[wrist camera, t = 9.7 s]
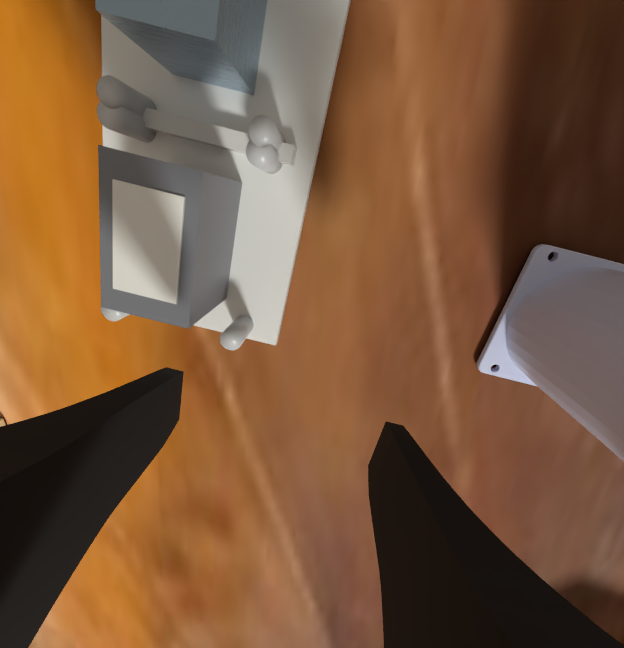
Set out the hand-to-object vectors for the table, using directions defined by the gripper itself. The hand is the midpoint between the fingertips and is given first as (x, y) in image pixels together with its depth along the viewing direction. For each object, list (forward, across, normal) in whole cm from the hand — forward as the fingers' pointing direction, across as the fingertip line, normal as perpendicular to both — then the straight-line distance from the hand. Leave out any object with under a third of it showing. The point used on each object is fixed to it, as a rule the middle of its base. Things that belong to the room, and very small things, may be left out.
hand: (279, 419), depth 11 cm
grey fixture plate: (+9, +7, -9) cm, 15 cm away
